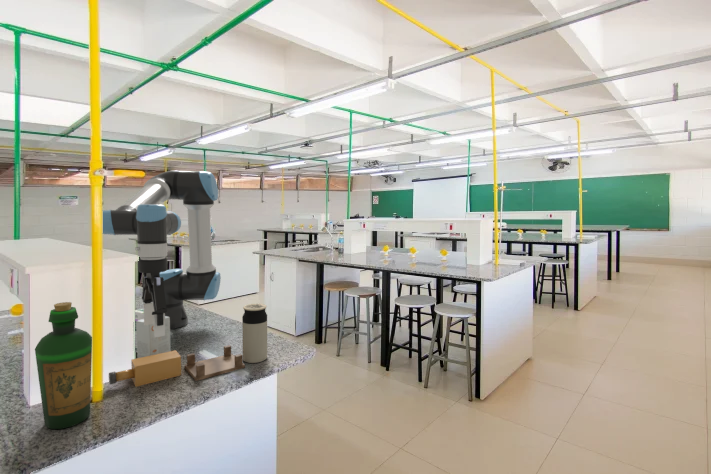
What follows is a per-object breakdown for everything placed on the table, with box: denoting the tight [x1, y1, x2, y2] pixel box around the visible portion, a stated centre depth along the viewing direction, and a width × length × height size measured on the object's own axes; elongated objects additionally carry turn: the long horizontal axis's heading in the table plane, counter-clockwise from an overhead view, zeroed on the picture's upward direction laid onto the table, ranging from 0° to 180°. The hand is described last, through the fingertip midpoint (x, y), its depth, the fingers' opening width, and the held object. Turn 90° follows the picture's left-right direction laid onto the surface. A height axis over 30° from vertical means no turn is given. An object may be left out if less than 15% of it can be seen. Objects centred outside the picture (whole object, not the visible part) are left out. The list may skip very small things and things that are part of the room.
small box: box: [136, 316, 172, 358], centre depth 125 cm, size 8×6×13 cm
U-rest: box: [184, 344, 246, 382], centre depth 118 cm, size 15×11×4 cm
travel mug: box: [241, 302, 268, 364], centre depth 125 cm, size 8×8×18 cm
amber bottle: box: [108, 349, 182, 388], centre depth 109 cm, size 18×6×6 cm, turn 129°
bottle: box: [34, 301, 93, 430], centre depth 87 cm, size 11×11×28 cm
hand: (154, 330), depth 109 cm, fingers open, 13 cm apart
